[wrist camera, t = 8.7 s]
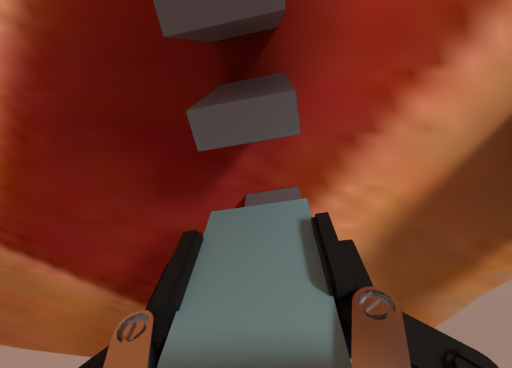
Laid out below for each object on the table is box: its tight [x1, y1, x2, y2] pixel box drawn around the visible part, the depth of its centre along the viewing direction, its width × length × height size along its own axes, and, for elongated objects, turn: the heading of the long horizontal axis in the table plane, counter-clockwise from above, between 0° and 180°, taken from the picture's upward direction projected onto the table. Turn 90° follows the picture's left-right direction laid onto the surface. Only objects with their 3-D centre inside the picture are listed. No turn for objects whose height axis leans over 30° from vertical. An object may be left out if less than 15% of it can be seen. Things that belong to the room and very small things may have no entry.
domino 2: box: [186, 72, 301, 152], centre depth 17 cm, size 2×5×10 cm, turn 101°
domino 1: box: [153, 0, 286, 42], centre depth 15 cm, size 2×5×10 cm, turn 101°
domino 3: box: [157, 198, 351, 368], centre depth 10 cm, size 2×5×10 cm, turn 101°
